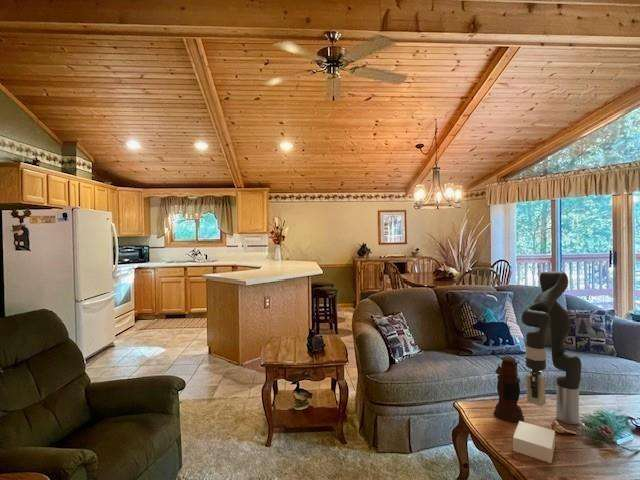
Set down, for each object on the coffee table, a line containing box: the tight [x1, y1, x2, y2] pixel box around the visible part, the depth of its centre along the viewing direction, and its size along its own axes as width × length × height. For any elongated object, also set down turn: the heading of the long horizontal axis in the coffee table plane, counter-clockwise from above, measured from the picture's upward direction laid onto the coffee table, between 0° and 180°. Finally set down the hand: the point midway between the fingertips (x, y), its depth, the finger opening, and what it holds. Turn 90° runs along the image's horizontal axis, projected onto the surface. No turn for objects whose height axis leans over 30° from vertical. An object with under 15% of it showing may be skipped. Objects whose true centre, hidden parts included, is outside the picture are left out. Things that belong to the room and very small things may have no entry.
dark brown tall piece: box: [493, 356, 525, 424], centre depth 182 cm, size 17×14×30 cm
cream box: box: [512, 421, 556, 464], centre depth 157 cm, size 16×14×6 cm
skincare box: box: [525, 371, 546, 407], centre depth 156 cm, size 6×4×12 cm
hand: (535, 394), depth 156 cm, fingers closed on skincare box, 5 cm apart
